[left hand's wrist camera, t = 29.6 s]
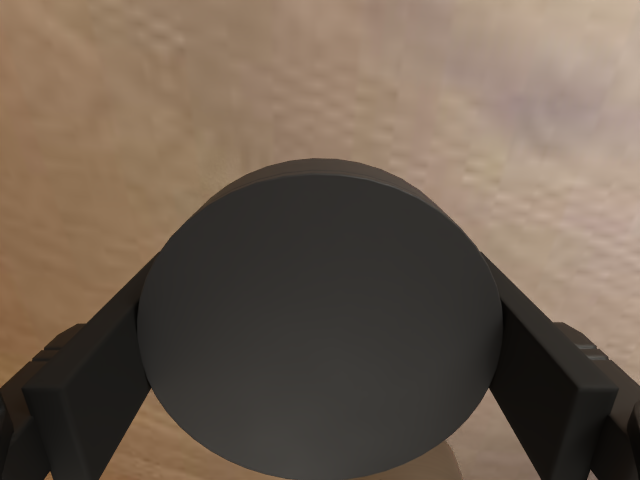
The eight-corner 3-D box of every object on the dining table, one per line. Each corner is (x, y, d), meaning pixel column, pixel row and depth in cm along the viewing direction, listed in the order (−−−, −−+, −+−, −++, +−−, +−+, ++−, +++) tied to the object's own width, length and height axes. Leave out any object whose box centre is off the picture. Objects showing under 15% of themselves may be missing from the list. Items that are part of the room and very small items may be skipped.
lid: (102, 293, 12) (58, 333, 10) (344, 79, 10) (351, 76, 8) (303, 464, 15) (300, 524, 13) (529, 327, 12) (570, 373, 10)
